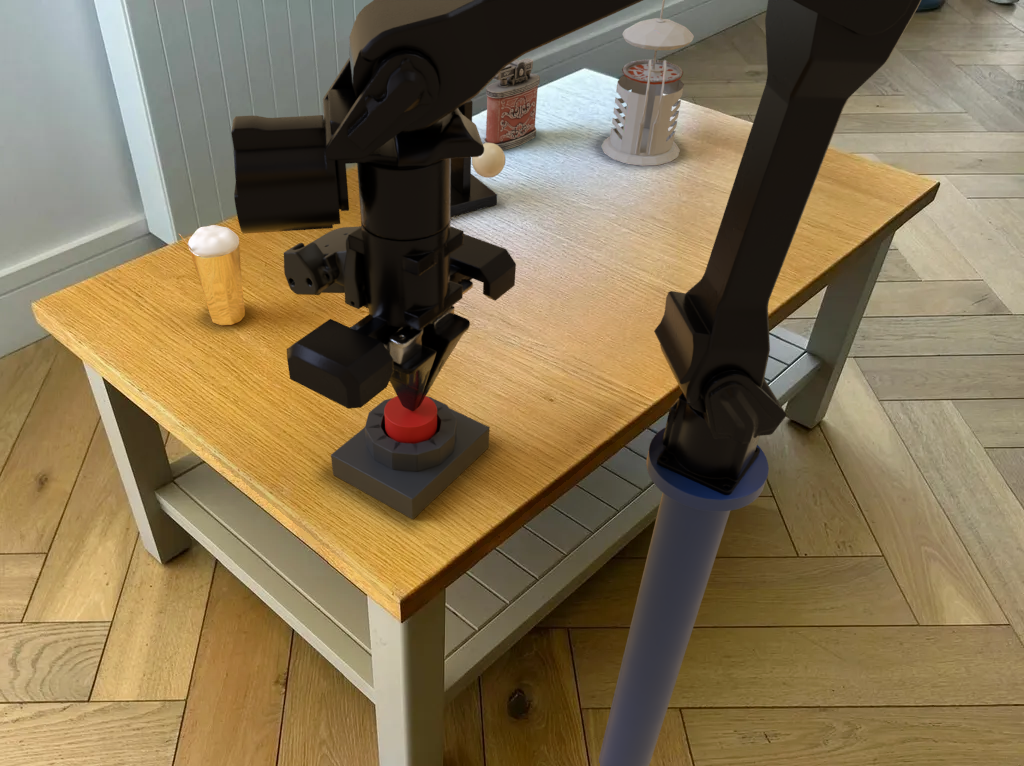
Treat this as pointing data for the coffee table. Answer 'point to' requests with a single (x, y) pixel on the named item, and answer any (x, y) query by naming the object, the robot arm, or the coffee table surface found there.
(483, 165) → the lever
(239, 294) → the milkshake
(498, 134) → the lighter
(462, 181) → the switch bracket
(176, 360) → the coffee table surface
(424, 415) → the button
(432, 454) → the control block
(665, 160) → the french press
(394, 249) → the robot arm
